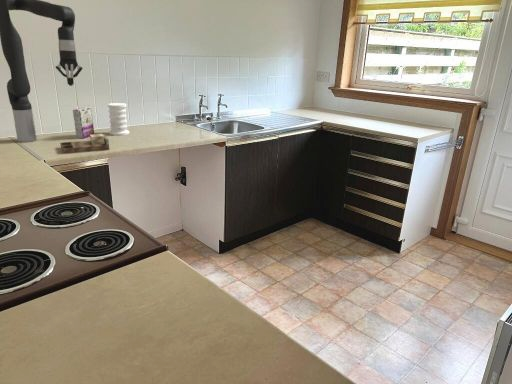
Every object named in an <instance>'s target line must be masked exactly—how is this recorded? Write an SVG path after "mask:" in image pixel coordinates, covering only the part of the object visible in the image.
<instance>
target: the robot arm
mask: <svg viewBox="0 0 512 384" xmlns="http://www.w3.org/2000/svg"><path fill="white" fill-rule="evenodd" d="M10 11H24V12H29V13H31V14H34V15H37V16H40V17H43V18H48V19H52V20H55V21H59V22H61V26H60V27H58V28H57V38H58V53H59V64H57V65H55V69H56V70H57V71H58V72H59V73H60V74H61V75H62V76H63V77H64V78H66V81H67V85H69V86H71V87H72V86H73V85H74V78H77V77H78V75H79V74H80V73H81V71H82V70H83V69H84V68H83V67H82V66H80V65H79V63H78V61H77V52H76V51H77V49H76V44H75V43H76V42H75V35H74V30H75V24H76V14H75V12H74V10H73V9H72V8H71V7H69V6H65V5H60V4H55V3H51V2H49V1H45V0H0V45H1V49H2V54H3V56H4V59H5V61H6V63H7V66H8V68H9V71H10V79H9V80H8V81H7V83H6V90H7V95H8V101H9V103H10V105H11V110H12V114H13V121H14V128H15V129H14V130H15V133H16V134H15V135H16V139H17V143H29V142H30V143H31V142H36V141H37V140H38V139H37V138H38V137H37V133H36V126H35V121H34V114H33V106H32V104H31V102H30V100H29V96H28V95H29V94H30V92H31V85H30V82H29V77H28V74H27V70H26V63H25V62H26V61H25V55H24V47H23V41H22V37H21V36H20V33H19V32H18V31H17V29H16V27H15V26H14V24H13V21H12V20H11V16H10ZM62 69H63V70H64V71H65V72H64V71H62ZM76 69H77V70H76ZM75 70H76V71H75ZM74 71H75V73H74Z"/></svg>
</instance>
